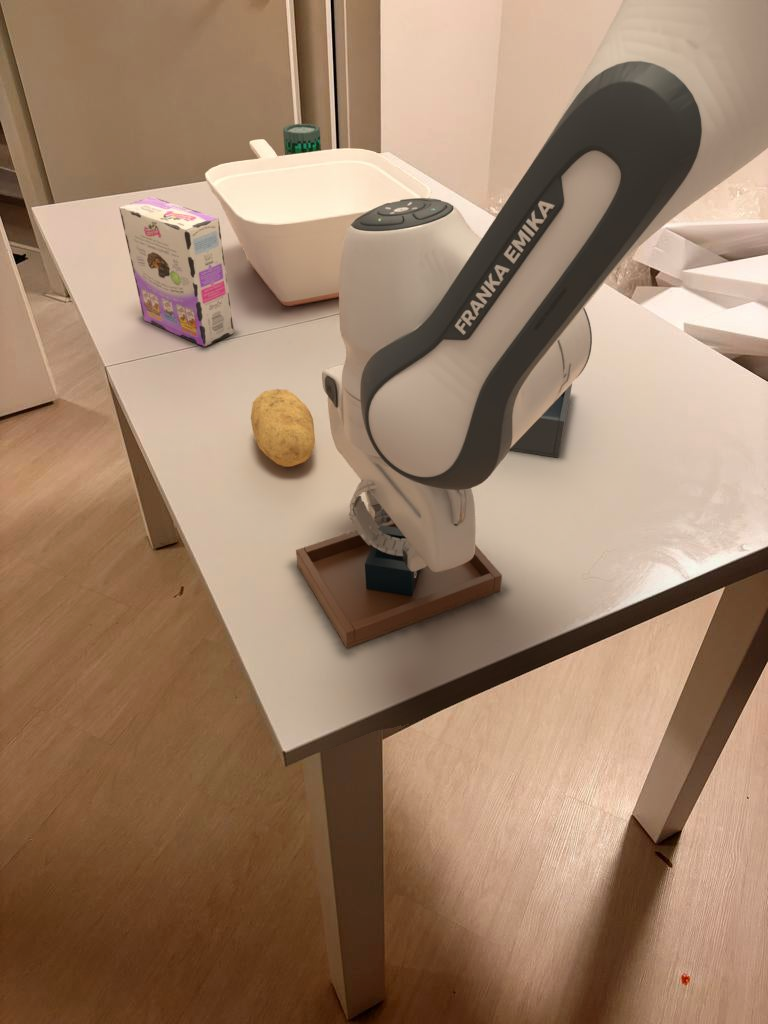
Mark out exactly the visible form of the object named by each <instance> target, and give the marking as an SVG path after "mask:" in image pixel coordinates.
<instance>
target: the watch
mask: <svg viewBox="0 0 768 1024" xmlns="http://www.w3.org/2000/svg"><path fill="white" fill-rule="evenodd" d="M369 489H376V485H375V484H374V483H372V482H371V481H368V480H366V479H365V480H362V481H361V480H360V482H359V483H358V484H357V486H356V489H355V491H354V493H353V495H352V497H351V499H350V503H349V513H348V516H349V518H350V521H351V524H352V525H353V527H354V528H355V531H356V530H357V532H358V533H359V535H360V536H361V537H362V538H363V540H364V541H365V542H366V543H367V544H368V545H369V546H370V545H372V547H371V549H370V552H369V554H368V557H367V559H366V562H365V577H366V589H370V590H376V591H383V592H389V593H395V594H402V595H408V596H412V595H413V592H414V589H415V586H416V582H417V579H418V576H419V573H420V570H421V569H420V570H417V571H414V572H413V571H410V569H409V568H408V566H407V565H406V564H405V562H404V561H403V548H404V547H407V546H411V545H410V544H409V542H408V540H407V539H406V537H405V536H404V535H403V534H402V532H401V531H400V530H399V528H396V527H389V526H382V525H380V527H379V525H378V524H377V523H376V522H375V521H374V519H373V518H372V517H371V515H370V514H369V512H368V507H367V506H366V504H365V501H363V499H362V496H361V495H362V494H363V493H365V491H368V490H369ZM378 528H379V529H378Z"/></svg>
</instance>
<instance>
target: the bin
mask: <svg viewBox="0 0 768 1024" xmlns="http://www.w3.org/2000/svg"><path fill="white" fill-rule="evenodd" d="M572 388H573V383H572V384H571V385H570V386H569V387H568V388H567V389H566V390H565V391H564V392H563V394H562V395H561V396H560V397H559V398H558V399H557V400H556V401H555V402H554V403H553V404H552V405H551V406H550V407H549V408H548V409H547V411H546V412H545V413H544V414H543V415H542V416H541V417H540V418H539V419H538V420H537V421H536V422H535V423H534V424H533V425H532V426H531V427H530V428H529V429H528V430H527V431H526V432H525V433H524V435H523V436H522V437H521V438H520V439H519V440H518V441H517V442H516V443H515V444H514V445H513V446H512V447H511V448H510V450H509V451H513V452H519V453H525V454H531V455H539V456H545V457H551V458H557V459H559V457H560V451H561V447H562V443H563V442H562V441H563V435H564V430H565V426H566V420H567V415H568V410H569V405H570V398H571V394H572Z"/></svg>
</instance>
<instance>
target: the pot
mask: <svg viewBox="0 0 768 1024" xmlns="http://www.w3.org/2000/svg"><path fill="white" fill-rule="evenodd" d="M248 143H249V144H248V145H249V148H250V149H251V151H252V152H253V153H254V155H255V156H256V157H257V158H253V159H246V160H237V161H231V162H226V163H225V162H224V163H220V164H218V165H215V166H213V167H210V168H209V169H208V170H206V172H205V173H204V176H205V180H206V183H207V185H208V187H209V189H210V190H211V193H212V194H213V195H214V196H215V197H216V199H217V200H218V201H219V203H220V206H221V207H222V210H223V211H224V213H225V215H226V217H227V220H228V222H229V224H230V225H231V228H232V230H233V232H234V234H235V236H236V238H237V240H238V242H239V244H240V246H241V249H242V250H243V252H244V254H245V257H246V258H247V262H248V263H249V265H250V266H251V267H252V268H253V270H254V271H255V273H256V274H257V276H259V278H260V279H261V280H262V281H263V282H264V284H265V285H266V286H267V288H268V289H269V290H270V291H271V293H272V294H273V295H274V296H275V298H276V299H277V300H278V302H279V303H281V304H283V305H284V306H286V307H292V306H293V307H294V306H298V305H303V304H309V303H315V302H321V301H326V300H332V299H339V277H340V263H341V254H342V248H343V243H344V239H345V235H346V232H347V230H348V228H349V226H350V225H351V224H352V223H353V222H354V221H355V220H356V219H357V218H358V217H360V216H361V215H363V214H365V213H366V212H368V211H370V210H372V209H374V208H376V207H379V206H381V205H383V204H386V203H392V202H397V201H400V200H404V199H413V198H431V195H432V193H433V191H432V190H431V189H430V187H429V186H428V185H427V184H425V183H423V182H422V181H421V180H419V179H418V178H416V177H415V176H414V175H412V174H410V173H409V172H407V171H406V170H404V169H403V168H401V166H399V165H398V164H395V163H394V162H393V161H391V160H390V159H388V158H387V157H385V156H384V155H383V154H380V153H379V152H376V151H374V150H370V149H369V150H368V149H363V148H348V147H346V148H333V149H324V150H321V151H315V152H307V153H300V154H292V155H285V154H283V155H278V154H277V153H276V151H275V150H274V149H273V147H272V146H271V145H270V144H269V142H268V141H266V139H264V138H262V139H260V138H259V139H253V140H250V141H249V142H248Z"/></svg>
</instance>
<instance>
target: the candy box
mask: <svg viewBox="0 0 768 1024" xmlns="http://www.w3.org/2000/svg"><path fill="white" fill-rule="evenodd" d="M118 208H119V214H120V217H121V223H122V227H123V231H124V236H125V240H126V244H127V250H128V254H129V258H130V263H131V267H132V273H133V276H134V277H133V278H134V280H135V285H136V290H137V295H138V300H139V305H140V308H141V312H142V317H143V318H142V319H143V320H144V321H146V322H147V323H150V324H151V325H155V326H157V327H159V328H161V329H164V330H166V331H168V332H169V333H172V334H174V335H177V336H180V337H182V338H184V339H186V340H188V341H190V342H193V343H195V344H197V345H200V346H202V347H204V348H206V347H207V346H210V345H212V344H214V343H216V342H218V341H220V340H223V339H225V338H227V337H229V336H231V335H233V334H234V333H235V328H234V322H233V315H232V307H231V301H230V300H231V299H230V294H229V286H228V279H227V278H228V277H227V271H226V264H225V256H224V248H223V247H224V246H223V241H222V233H221V226H220V218H219V217H218V216H217V217H216V216H213V215H210V214H206V213H203V212H200V211H197V210H194V209H191V208H187V207H185V206H181V205H180V204H179V205H178V204H176V203H173V202H169V201H167V200H164V199H160V198H158V197H154V196H150V197H146V198H144V199H141V200H137V201H134V202H132V203H129V204H125V205H123V206H122V205H121V206H119V207H118Z"/></svg>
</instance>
